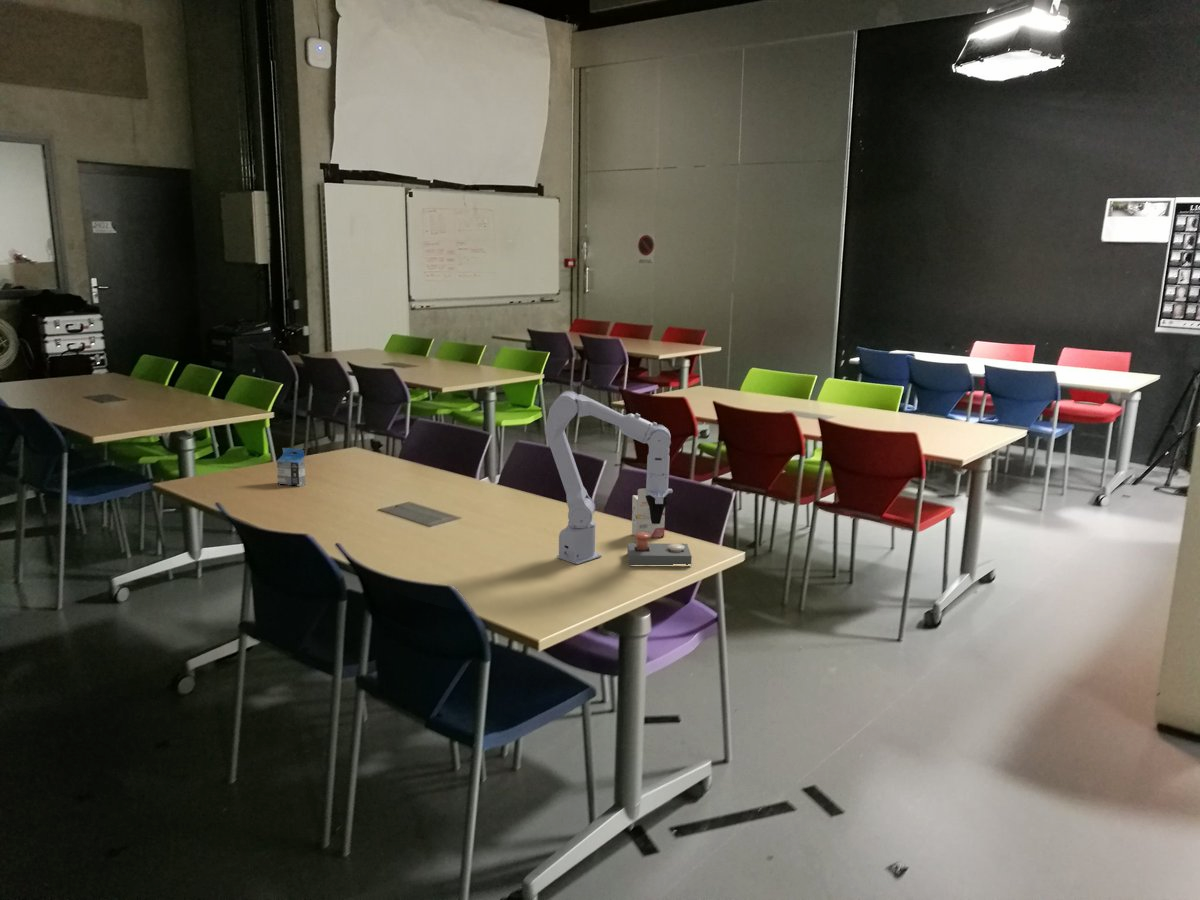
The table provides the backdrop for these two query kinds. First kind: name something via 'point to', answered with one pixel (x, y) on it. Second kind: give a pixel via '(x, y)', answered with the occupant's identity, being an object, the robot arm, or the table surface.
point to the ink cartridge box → (645, 516)
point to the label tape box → (291, 467)
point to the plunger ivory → (676, 547)
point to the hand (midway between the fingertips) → (655, 523)
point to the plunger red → (642, 540)
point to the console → (657, 555)
